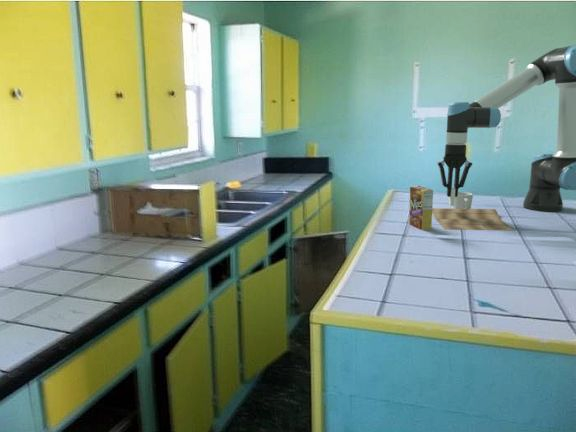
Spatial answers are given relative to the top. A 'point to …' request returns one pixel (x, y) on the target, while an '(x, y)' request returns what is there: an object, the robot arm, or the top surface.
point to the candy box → (420, 207)
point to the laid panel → (474, 224)
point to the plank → (466, 214)
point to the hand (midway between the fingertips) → (451, 204)
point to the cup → (463, 200)
